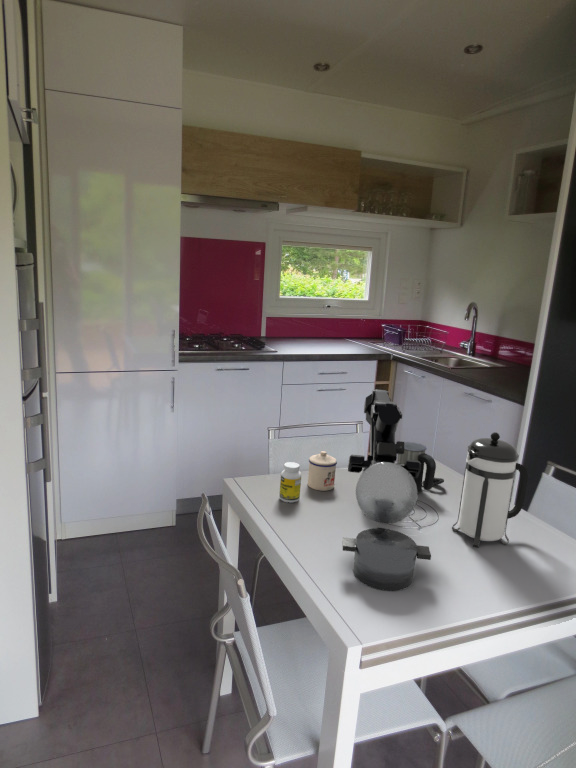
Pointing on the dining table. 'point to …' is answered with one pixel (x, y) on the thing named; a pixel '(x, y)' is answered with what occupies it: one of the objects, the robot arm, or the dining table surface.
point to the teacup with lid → (321, 471)
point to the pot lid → (386, 492)
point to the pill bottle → (290, 483)
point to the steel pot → (385, 558)
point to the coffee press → (490, 489)
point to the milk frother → (418, 453)
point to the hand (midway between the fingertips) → (383, 496)
